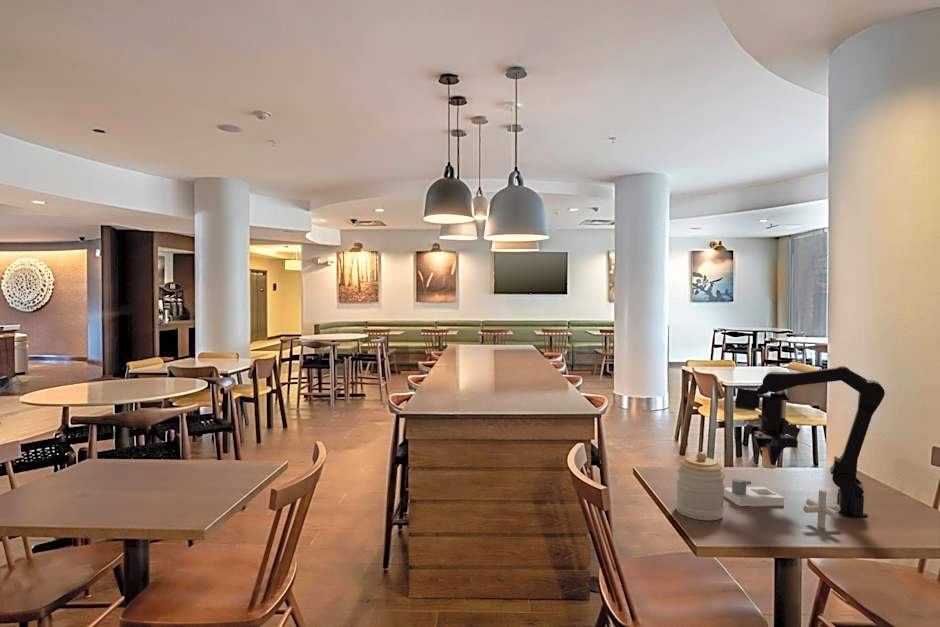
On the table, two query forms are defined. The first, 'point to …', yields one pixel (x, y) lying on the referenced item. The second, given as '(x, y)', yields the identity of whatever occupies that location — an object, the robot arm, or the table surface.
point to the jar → (700, 488)
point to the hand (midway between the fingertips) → (769, 462)
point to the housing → (752, 495)
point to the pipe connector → (821, 508)
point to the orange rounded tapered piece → (766, 459)
